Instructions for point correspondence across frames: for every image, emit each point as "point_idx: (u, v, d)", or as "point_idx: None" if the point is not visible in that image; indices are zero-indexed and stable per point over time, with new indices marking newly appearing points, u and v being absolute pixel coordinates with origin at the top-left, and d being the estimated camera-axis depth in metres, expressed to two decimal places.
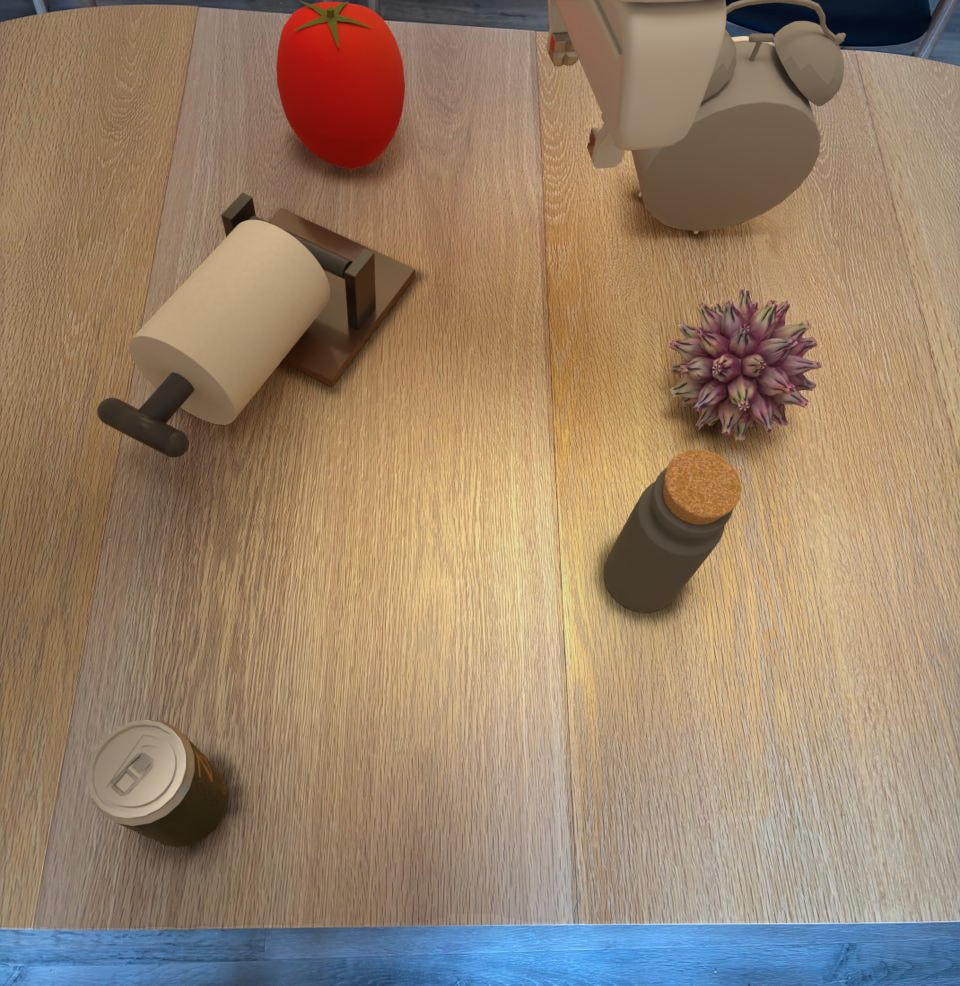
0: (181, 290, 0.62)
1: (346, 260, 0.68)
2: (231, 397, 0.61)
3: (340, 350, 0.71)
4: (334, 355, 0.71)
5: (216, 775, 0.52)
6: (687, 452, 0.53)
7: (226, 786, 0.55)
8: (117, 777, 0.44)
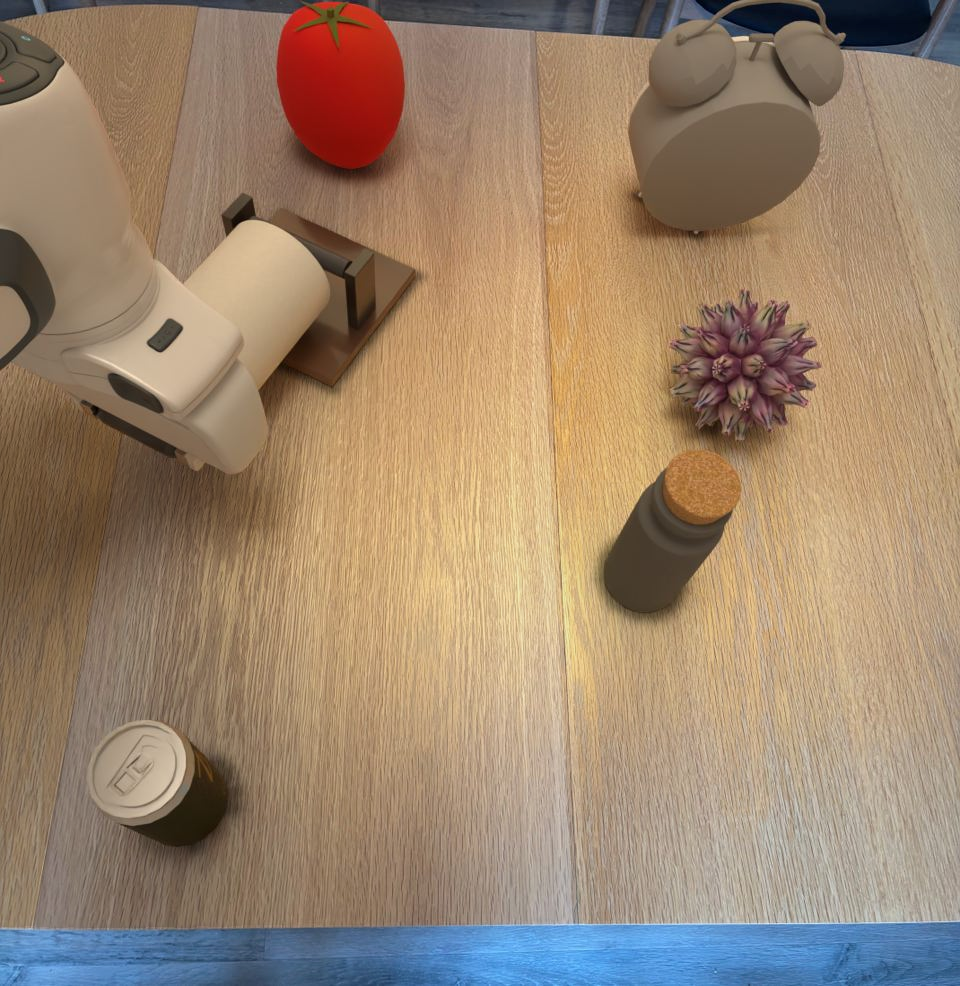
0: None
1: (346, 260, 0.68)
2: None
3: (340, 350, 0.71)
4: (334, 355, 0.71)
5: (216, 775, 0.52)
6: (687, 452, 0.53)
7: (226, 786, 0.55)
8: (117, 777, 0.44)
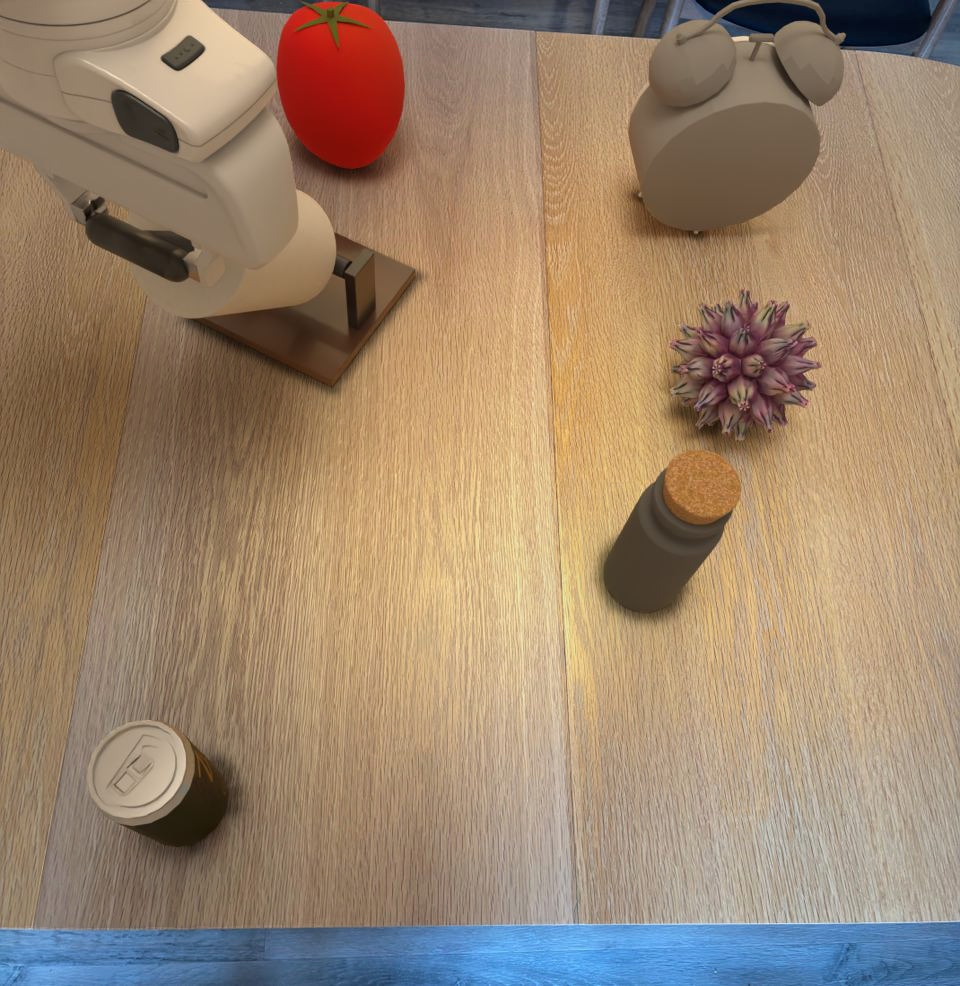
0: None
1: (349, 259, 0.69)
2: None
3: (340, 350, 0.71)
4: (334, 355, 0.71)
5: (216, 775, 0.52)
6: (687, 452, 0.53)
7: (226, 786, 0.55)
8: (117, 777, 0.44)
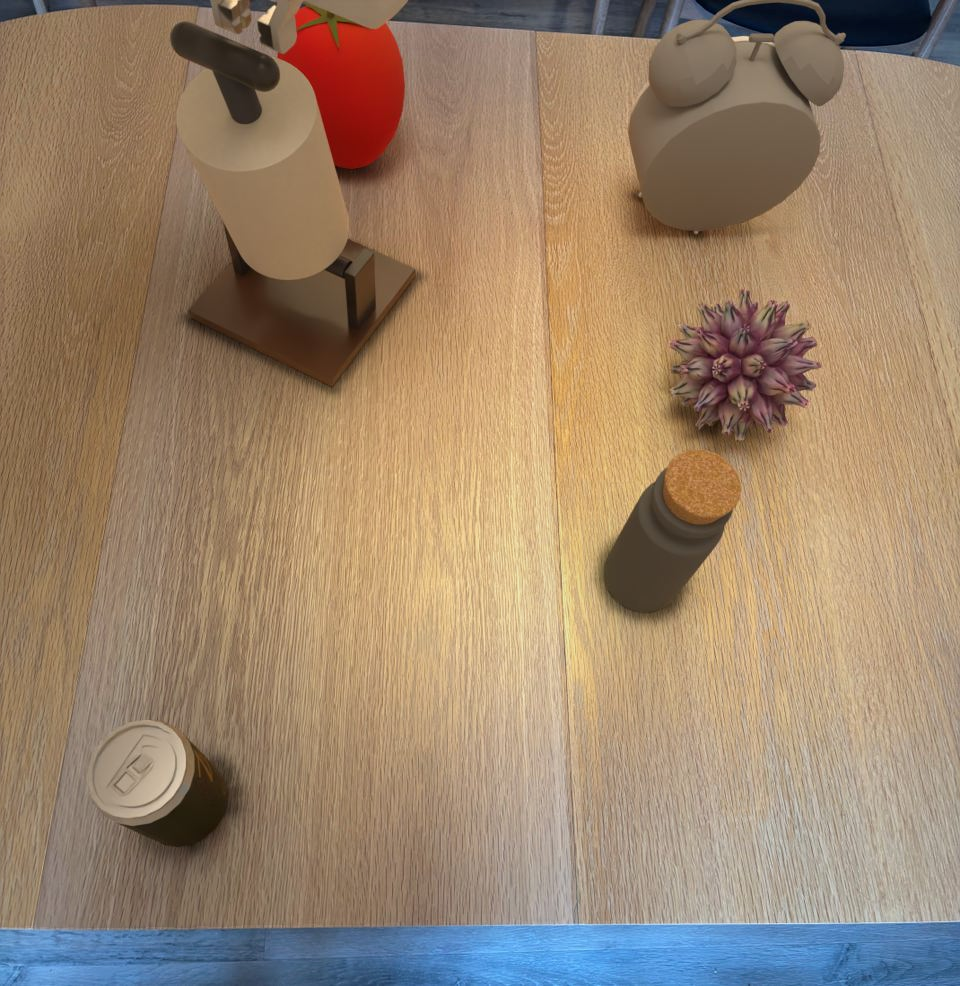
0: None
1: None
2: (314, 126, 0.55)
3: (340, 350, 0.71)
4: (334, 355, 0.71)
5: (216, 775, 0.52)
6: (687, 452, 0.53)
7: (226, 786, 0.55)
8: (117, 777, 0.44)
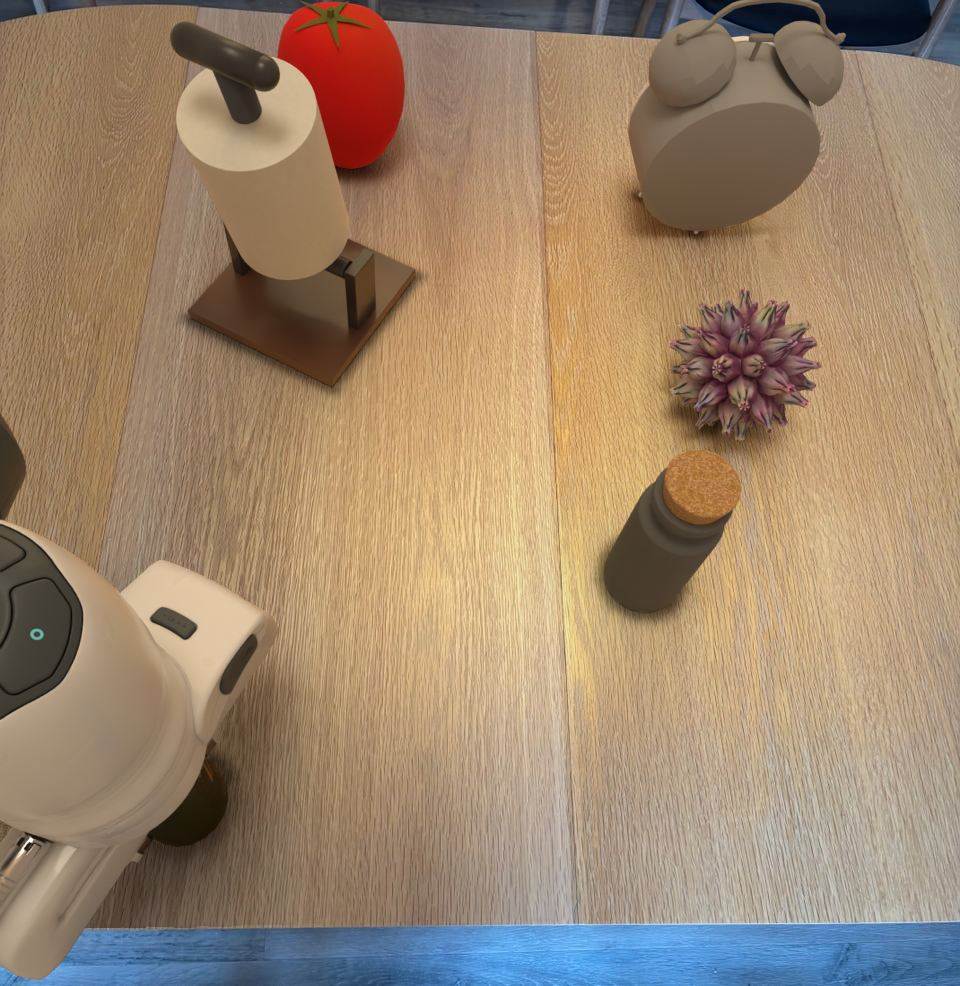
0: None
1: None
2: (314, 126, 0.55)
3: (340, 350, 0.71)
4: (334, 355, 0.71)
5: (216, 775, 0.52)
6: (687, 452, 0.53)
7: (226, 786, 0.55)
8: None
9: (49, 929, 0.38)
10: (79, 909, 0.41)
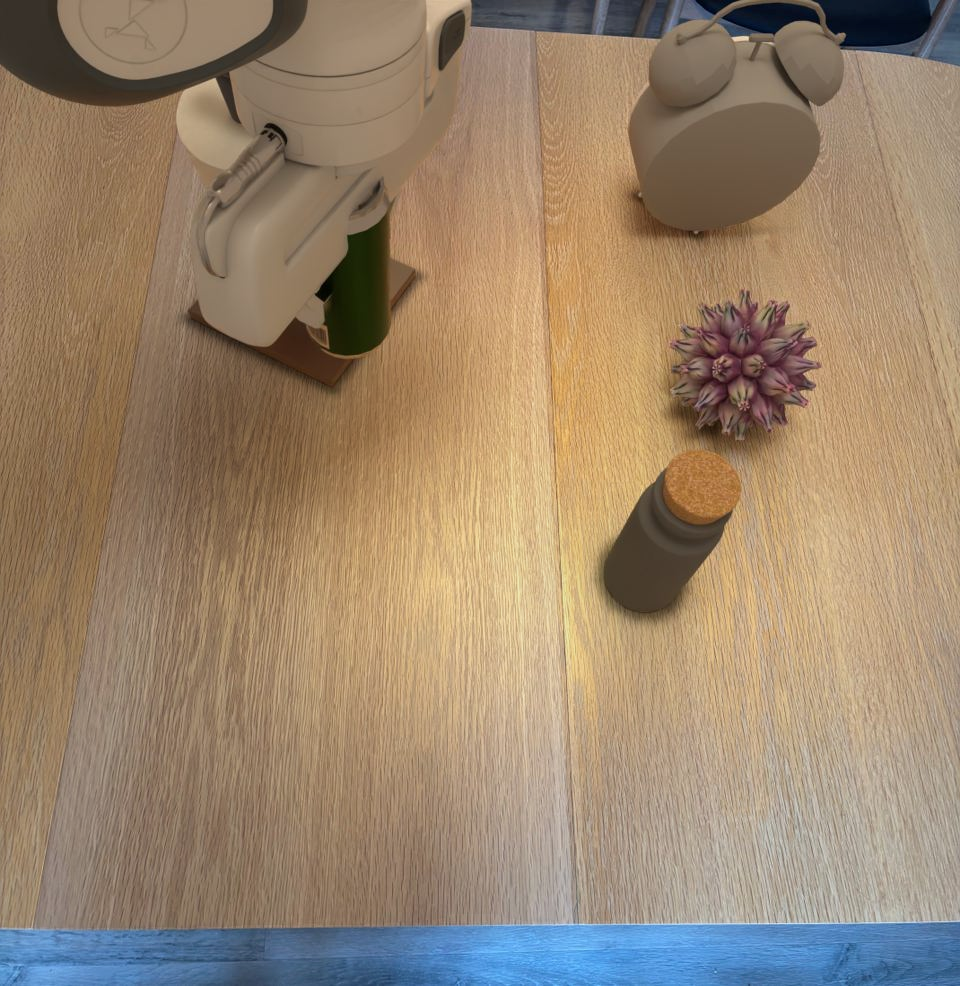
0: None
1: None
2: None
3: None
4: None
5: None
6: (687, 452, 0.53)
7: None
8: None
9: (279, 256, 0.39)
10: (296, 273, 0.41)
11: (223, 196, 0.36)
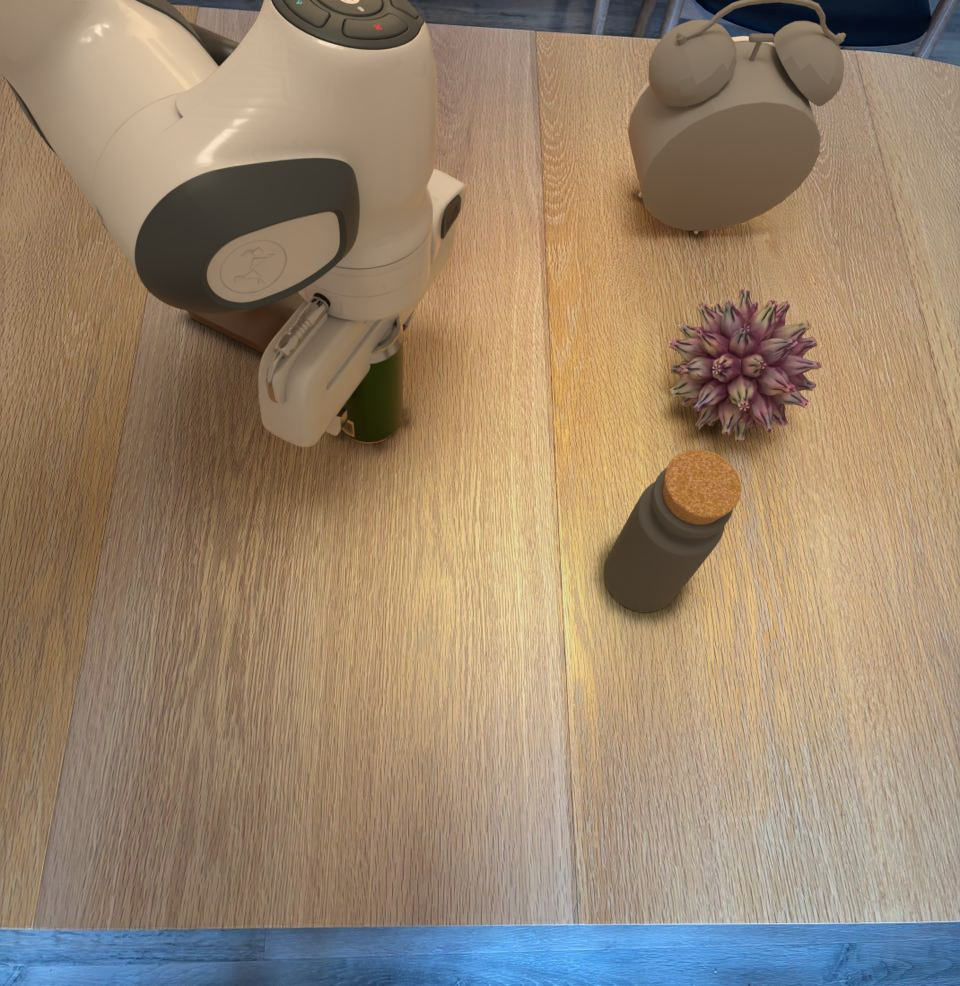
0: None
1: None
2: None
3: None
4: None
5: None
6: (687, 452, 0.53)
7: None
8: None
9: (323, 385, 0.53)
10: (334, 393, 0.55)
11: (286, 352, 0.49)
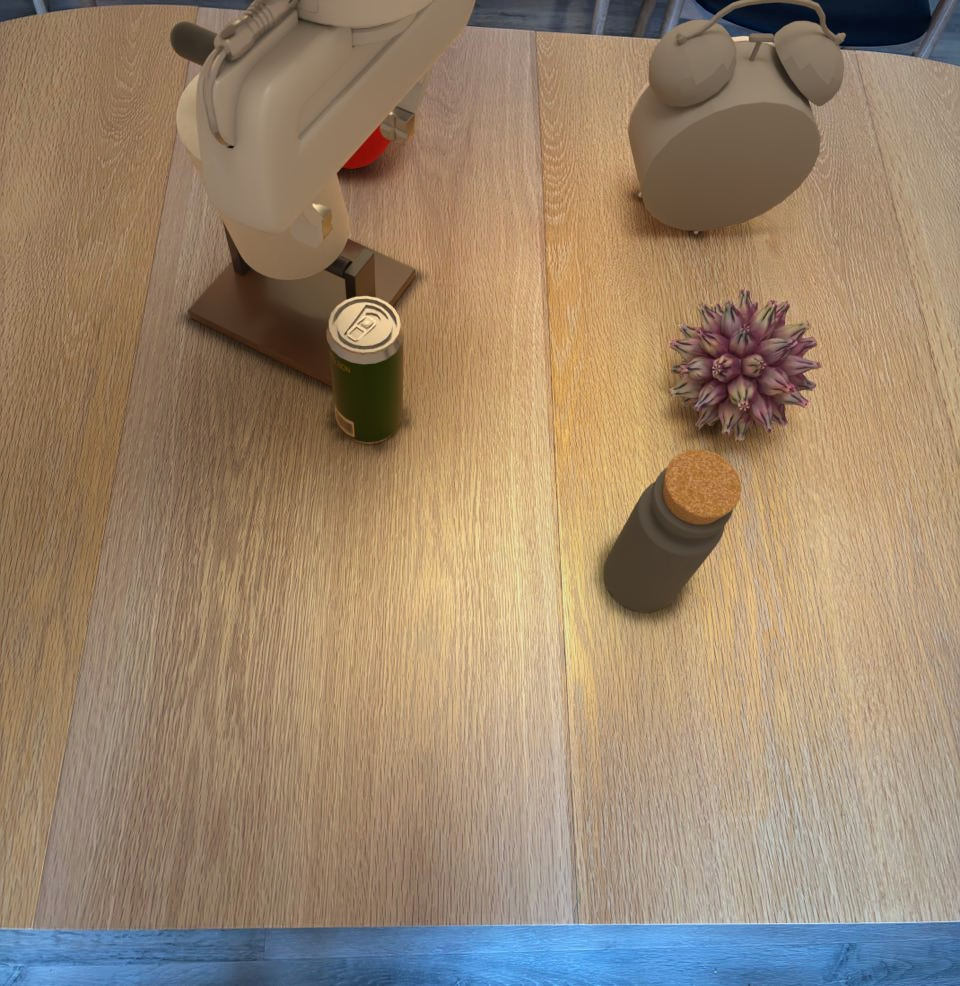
0: None
1: None
2: None
3: None
4: None
5: None
6: (687, 452, 0.53)
7: None
8: (350, 330, 0.59)
9: (292, 125, 0.36)
10: (309, 151, 0.38)
11: (232, 46, 0.33)
